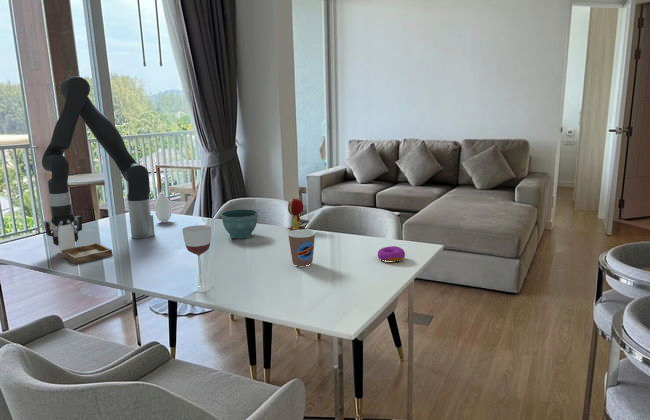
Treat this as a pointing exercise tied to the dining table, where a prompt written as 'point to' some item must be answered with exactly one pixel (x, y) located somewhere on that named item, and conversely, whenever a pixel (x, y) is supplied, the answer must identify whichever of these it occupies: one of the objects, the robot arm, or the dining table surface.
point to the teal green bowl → (239, 222)
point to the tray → (86, 253)
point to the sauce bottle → (163, 208)
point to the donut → (391, 253)
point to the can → (65, 237)
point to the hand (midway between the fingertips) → (66, 243)
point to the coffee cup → (302, 246)
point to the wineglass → (197, 242)
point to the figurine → (295, 213)
